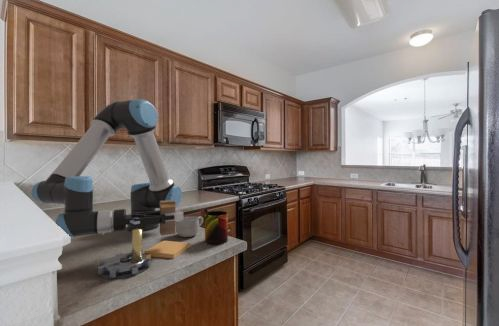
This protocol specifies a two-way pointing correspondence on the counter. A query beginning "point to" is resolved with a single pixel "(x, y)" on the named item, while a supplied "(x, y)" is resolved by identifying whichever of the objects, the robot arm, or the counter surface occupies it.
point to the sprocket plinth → (124, 274)
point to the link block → (165, 209)
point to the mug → (216, 227)
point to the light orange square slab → (168, 249)
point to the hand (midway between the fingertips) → (181, 214)
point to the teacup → (188, 226)
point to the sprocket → (127, 259)
